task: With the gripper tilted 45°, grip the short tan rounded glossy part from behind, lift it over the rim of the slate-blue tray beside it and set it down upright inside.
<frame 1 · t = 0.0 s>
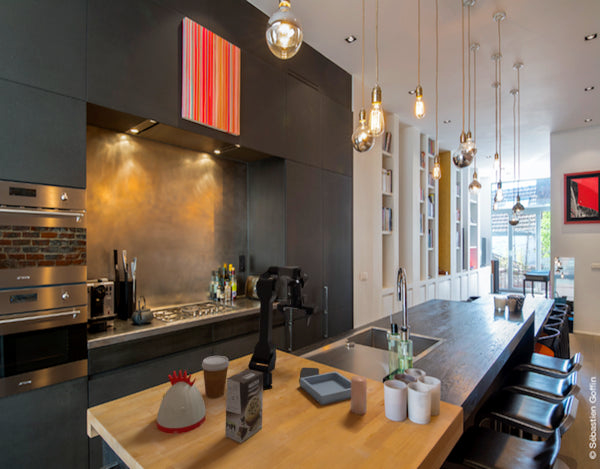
hand: (298, 323, 158), 15 cm above the kitchen island, tool pointing down, fingers open, 9 cm apart
phone: (309, 377, 136), on the kitchen island
tan rounded glossy part: (358, 410, 109), on the kitchen island
disposable coffee cup: (215, 394, 119), on the kitchen island
tray: (329, 390, 123), on the kitchen island
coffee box: (244, 432, 96), on the kitchen island
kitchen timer: (181, 421, 101), on the kitchen island
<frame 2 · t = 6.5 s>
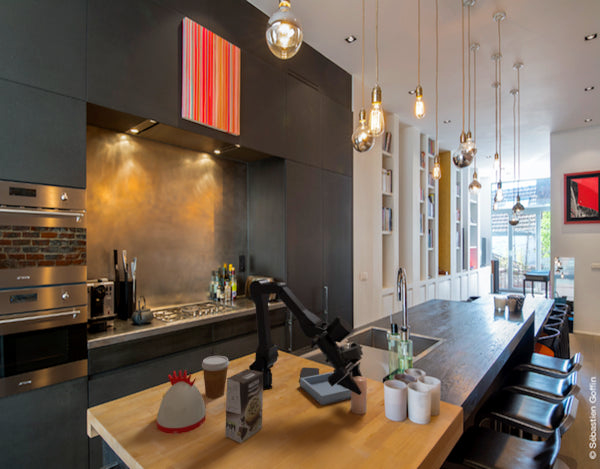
hand: (363, 390, 109), 7 cm above the kitchen island, tool tilted 45°, fingers closed on tan rounded glossy part, 5 cm apart
tan rounded glossy part: (358, 410, 109), on the kitchen island, touching gripper
everything else where it was.
when the fingers open (8 cm above the kitchen island, at t = 11.6 s): tan rounded glossy part drops 1 cm, resting on tray.
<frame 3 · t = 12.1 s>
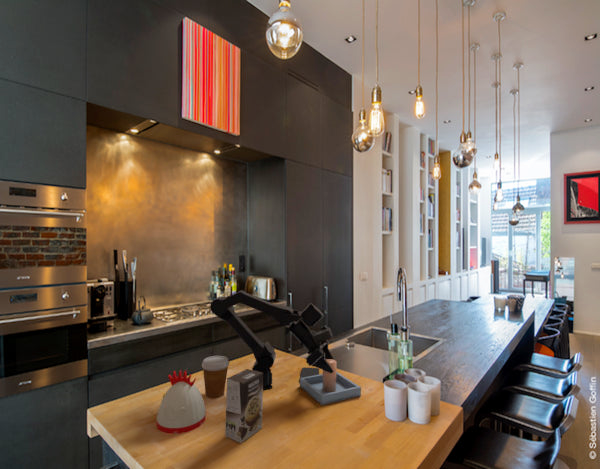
hand: (333, 367, 123), 9 cm above the kitchen island, tool tilted 45°, fingers open, 9 cm apart
tan rounded glossy part: (329, 389, 123), point 1 cm above the kitchen island, touching tray
everything else where it was.
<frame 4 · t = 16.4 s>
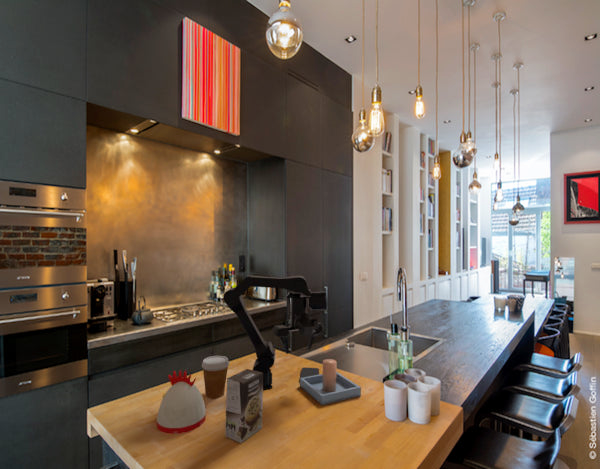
hand: (298, 351, 126), 13 cm above the kitchen island, tool pointing down, fingers open, 9 cm apart
nothing on the kitchen island moved.
at the end: tan rounded glossy part inside the target area on the tray (0.0 cm from its centre), point 0.6 cm above the tray's base; tan rounded glossy part tilted 0°; the gripper is holding nothing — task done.
